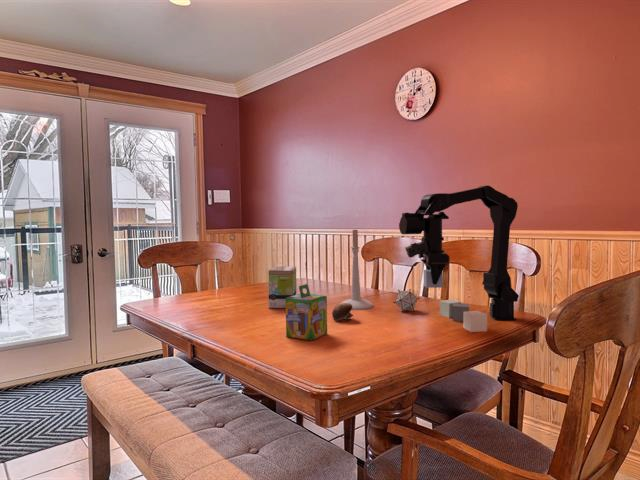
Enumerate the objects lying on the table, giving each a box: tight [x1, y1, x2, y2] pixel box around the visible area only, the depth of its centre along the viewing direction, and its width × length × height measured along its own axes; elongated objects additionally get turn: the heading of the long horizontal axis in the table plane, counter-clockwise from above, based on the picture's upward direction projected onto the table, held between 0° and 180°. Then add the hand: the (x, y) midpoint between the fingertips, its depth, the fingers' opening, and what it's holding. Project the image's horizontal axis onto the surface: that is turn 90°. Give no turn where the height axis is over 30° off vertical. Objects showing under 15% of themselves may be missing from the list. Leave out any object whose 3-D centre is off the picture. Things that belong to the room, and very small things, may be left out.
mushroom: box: [331, 302, 354, 321], centre depth 141 cm, size 8×8×6 cm
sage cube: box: [439, 299, 462, 319], centre depth 145 cm, size 5×5×5 cm
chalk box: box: [285, 283, 328, 341], centre depth 123 cm, size 9×9×15 cm
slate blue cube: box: [423, 269, 444, 289], centre depth 134 cm, size 5×5×5 cm
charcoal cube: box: [452, 302, 470, 323], centre depth 139 cm, size 5×5×5 cm
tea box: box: [268, 265, 297, 309], centre depth 169 cm, size 15×10×15 cm
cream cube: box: [462, 310, 488, 333], centre depth 127 cm, size 5×5×5 cm
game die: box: [392, 288, 421, 313], centre depth 153 cm, size 9×8×10 cm
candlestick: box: [339, 229, 374, 311], centre depth 162 cm, size 13×13×30 cm
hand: (433, 283), depth 134 cm, fingers closed on slate blue cube, 5 cm apart
